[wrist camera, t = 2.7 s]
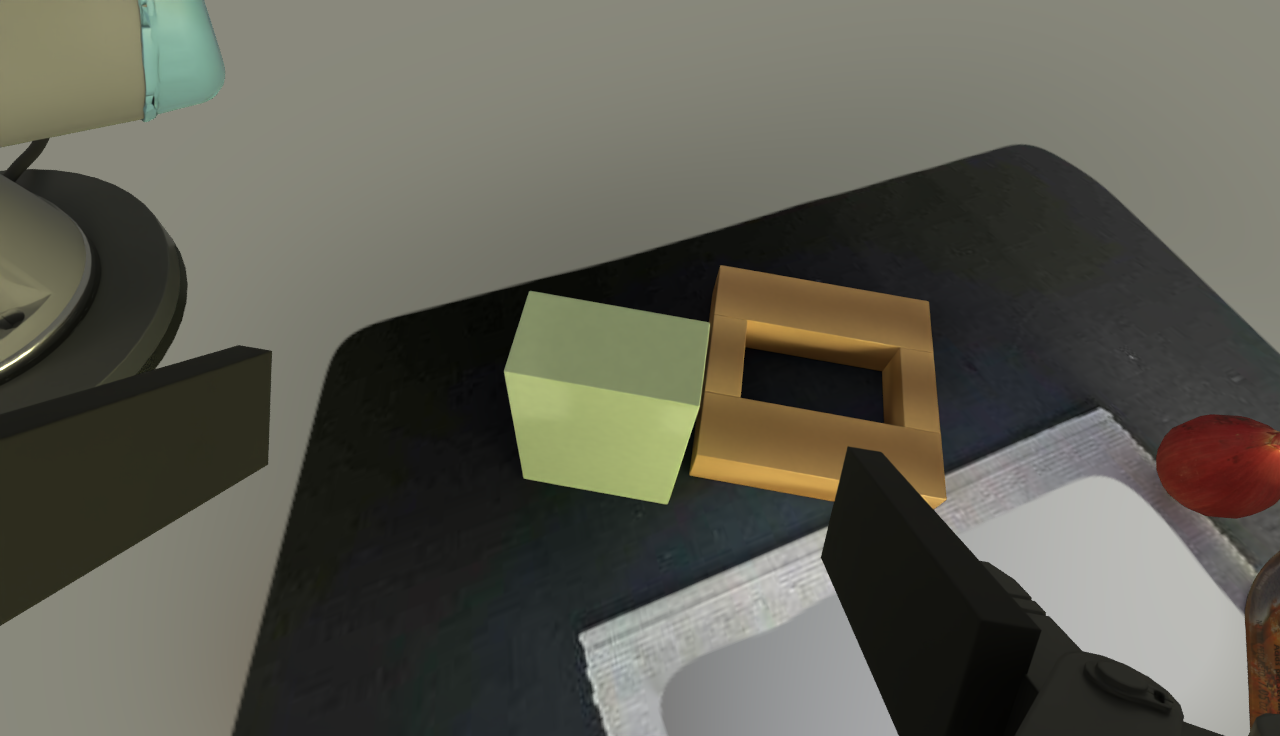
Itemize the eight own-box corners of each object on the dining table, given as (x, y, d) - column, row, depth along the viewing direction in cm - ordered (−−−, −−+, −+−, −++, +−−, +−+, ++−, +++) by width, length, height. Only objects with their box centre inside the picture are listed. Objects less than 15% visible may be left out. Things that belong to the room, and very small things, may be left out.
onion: (1111, 443, 43) (1211, 380, 36) (1197, 450, 43) (1312, 389, 36) (1143, 532, 40) (1258, 481, 33) (1235, 538, 40) (1369, 489, 33)
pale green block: (667, 505, 38) (699, 406, 28) (523, 478, 39) (503, 371, 28) (677, 435, 41) (710, 322, 31) (541, 411, 41) (529, 290, 31)
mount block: (923, 517, 39) (947, 499, 37) (689, 475, 40) (696, 454, 37) (910, 327, 47) (929, 301, 44) (712, 292, 47) (720, 264, 44)
